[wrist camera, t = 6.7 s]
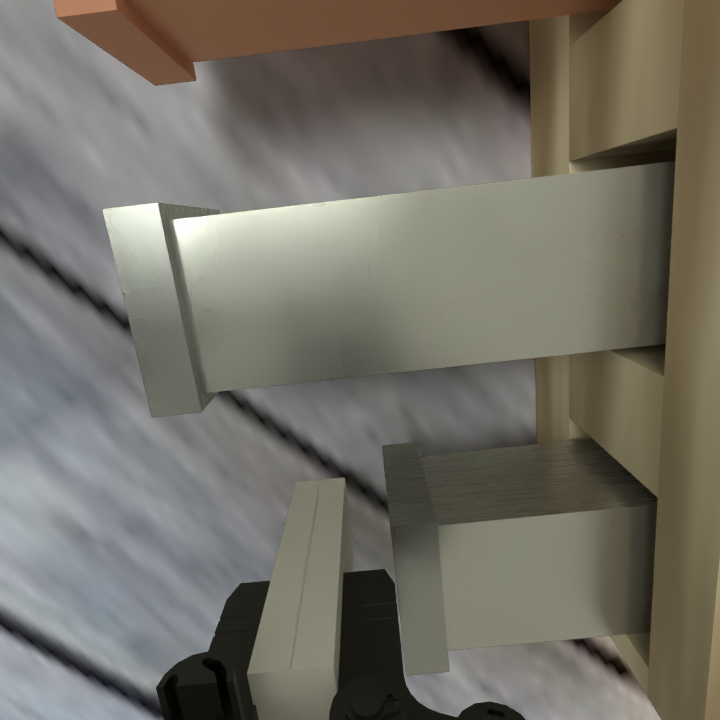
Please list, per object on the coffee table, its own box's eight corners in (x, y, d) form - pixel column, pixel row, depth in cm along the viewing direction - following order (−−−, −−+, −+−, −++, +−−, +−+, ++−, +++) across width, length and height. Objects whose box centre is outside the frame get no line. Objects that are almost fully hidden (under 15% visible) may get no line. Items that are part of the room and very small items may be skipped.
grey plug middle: (210, 363, 14) (152, 417, 10) (180, 214, 13) (102, 209, 9) (834, 296, 13) (1031, 324, 9) (857, 135, 12) (1088, 92, 8)
